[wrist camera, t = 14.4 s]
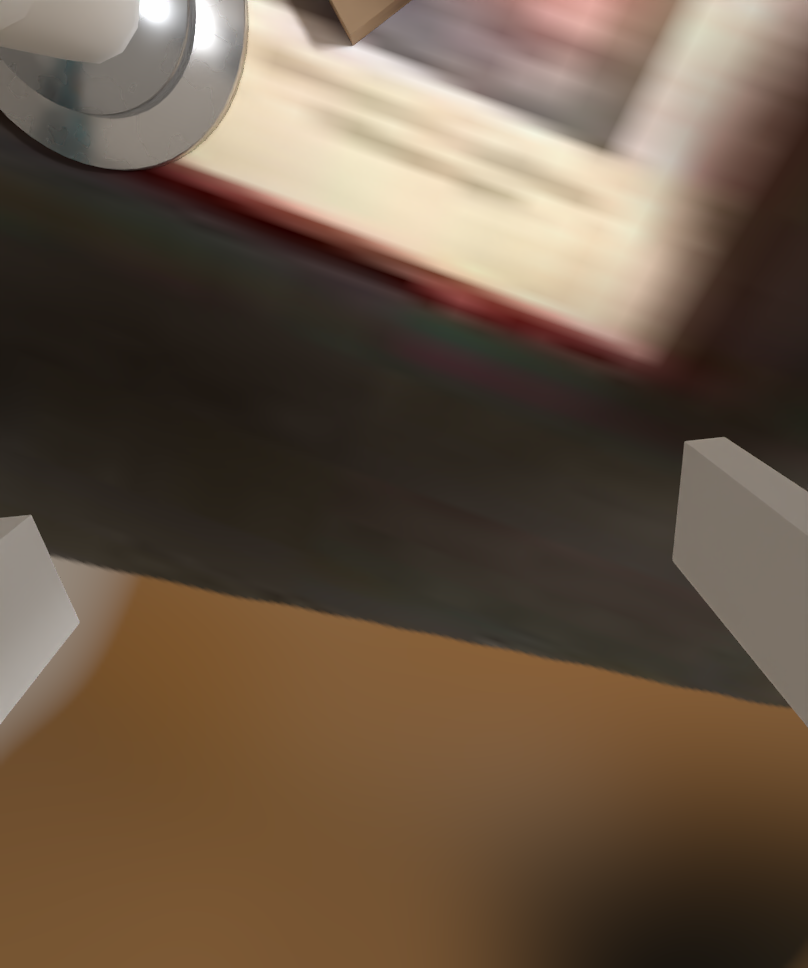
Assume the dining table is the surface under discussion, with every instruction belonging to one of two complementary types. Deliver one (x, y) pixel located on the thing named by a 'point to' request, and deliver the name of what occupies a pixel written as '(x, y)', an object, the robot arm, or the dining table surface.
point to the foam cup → (69, 27)
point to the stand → (364, 15)
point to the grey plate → (134, 88)
